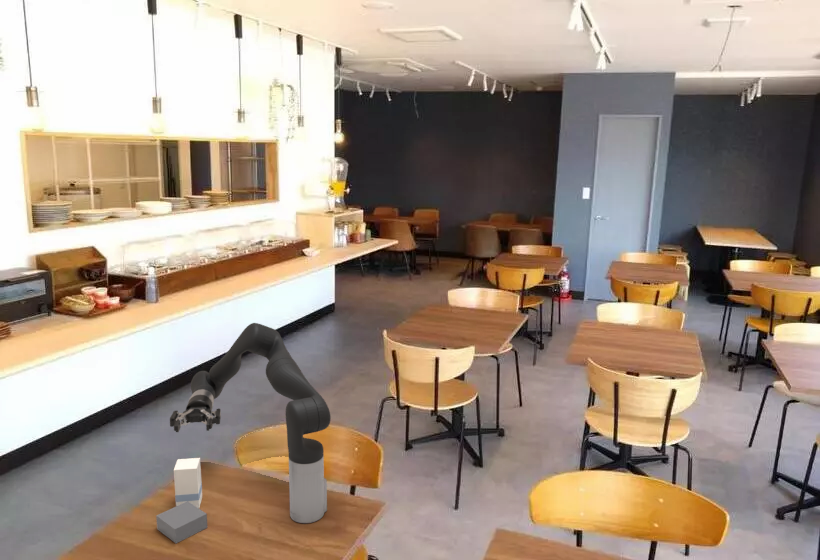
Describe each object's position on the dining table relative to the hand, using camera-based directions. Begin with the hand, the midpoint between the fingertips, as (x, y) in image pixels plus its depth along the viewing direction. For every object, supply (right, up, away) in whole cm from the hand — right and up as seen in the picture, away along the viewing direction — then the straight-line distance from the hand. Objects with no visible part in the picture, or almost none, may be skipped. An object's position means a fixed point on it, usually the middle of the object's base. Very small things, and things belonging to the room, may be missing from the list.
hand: (192, 428), depth 184 cm
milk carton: (+2, -19, -7) cm, 20 cm away
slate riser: (+4, -22, -19) cm, 29 cm away
